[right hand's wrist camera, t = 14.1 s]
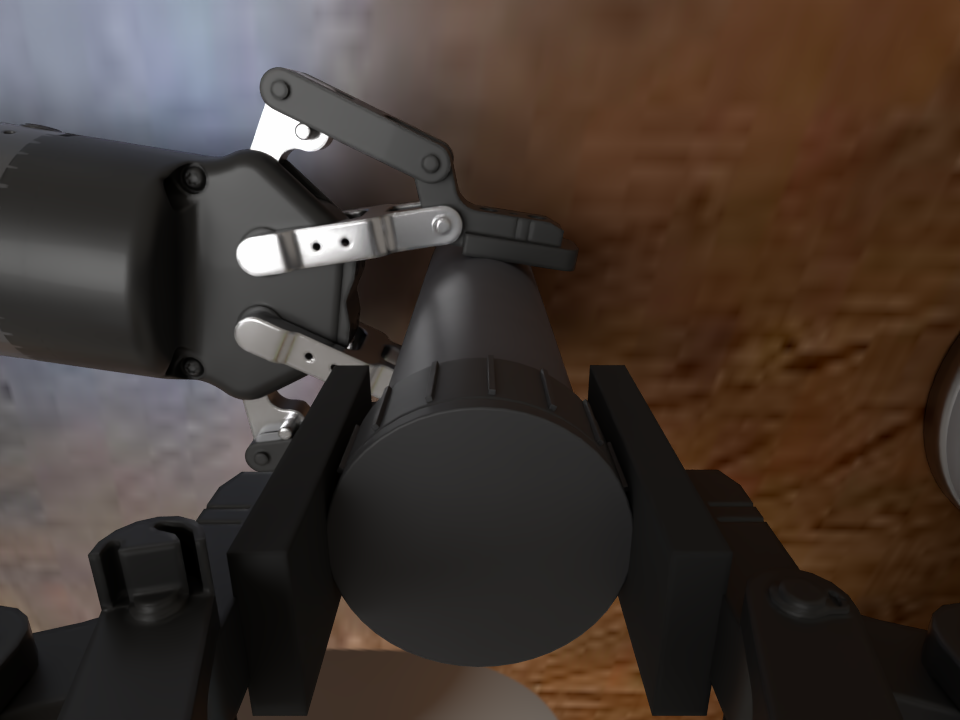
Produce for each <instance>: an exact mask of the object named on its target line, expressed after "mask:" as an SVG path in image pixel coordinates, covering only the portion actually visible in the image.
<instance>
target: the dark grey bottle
mask: <svg viewBox="0 0 960 720" xmlns="http://www.w3.org/2000/svg"><path fill="white" fill-rule="evenodd" d="M462 251H463V247H460V246H454V245H441V246H437V247H436V248H435V250H434V253H433V255H432V258H431V261H430V264H429V267H428V270H427V273H426V276H425V279H424V282H423V285H422V288H421V291H420V294H419V297H418V300H417V303H416V306H415V308H414V311H413V314H412V317H411V320H410V323H409V326H408V329H407V332H406V335H405V338H404V341H403V344H402V347H401V350H400V353H399V356H398V359H397V362H396V365H395V368H394V371H393V374H392V377H391V380H390V383H389V386H390V387H391V388H392V387H393V386H394V385H396V384H397V383H398V382H400V381H402V380H403V379H405V378H406V377H408V376H410V375H411V374H413V373H415V372H418V371H420V370H422V369H424V368H426V367H429V366H431V364H432V362H434V361H438V364H439V363H442V362H446V361H451V360H457V359H463V358H487V357H488V355H494V358H495V359H503V360H508V361H513V362H518V363H521V364H524V365H527V366H530V367H533V368H535V369H538V370H540V371H541V370H542V368H544V369H546V370H547V371H548V374H549V375H550V376H552V377H553V378H555V379H556V380H558V381H559V382H561V383H562V384H564V385H565V386H567V387H568V388H569V389H570V390H571V391H572V392H573V390H572V387H571V384H570V382H569V379H568V376H567V373H566V370H565V367H564V364H563V361H562V358H561V355H560V352H559V349H558V346H557V343H556V340H555V337H554V334H553V331H552V328H551V325H550V322H549V319H548V316H547V313H546V310H545V307H544V304H543V301H542V298H541V295H540V292H539V289H538V287H537V284H536V281H535V278H534V275H533V272H532V269H531V266H529V265H523V264H517V263H510V262H504V261H497V260H493V259H486V258H478V257H472V256H465V255H462Z"/></svg>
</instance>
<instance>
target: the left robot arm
mask: <svg viewBox="0 0 960 720" xmlns="http://www.w3.org/2000/svg"><path fill="white" fill-rule="evenodd" d="M260 93H261V96H262V99H263V100H264V102H265V103H266V104H265V107H264V110H263V113H262V116H261V119H260V122H259V125H258V128H257V131H256V134H255V137H254V140H253V143H252V146H251V149H245V150H239V151H236V152H234V153H232V154H229V155H227V156H224V157H211V156H205V155H198V154H192V153H186V152H180V151H174V150H168V149H161V148H155V147H149V146H143V145H137V144H131V143H124V142H118V141H112V140H106V139H99V138H93V137H87V136H81V135H75V134H69V133H62V132H61V131H59V130H57V129H53V128H50V127H46V126H41V125H36V124H25V125H13V124H7V123H0V355H3V356H10V357H17V358H24V359H32V360H38V361H45V362H52V363H59V364H66V365H73V366H79V367H86V368H93V369H100V370H107V371H114V372H121V373H128V374H135V375H142V376H149V377H156V378H163V379H192V380H201V381H204V382H207V383H210V384H212V385H214V386H216V387H218V388H219V389H221V390H223V391H224V392H226V393H227V394H229V395H230V396H232V397H235V398H238V399H242V400H243V403H244V406H245V410H246V413H247V417H248V421H249V424H250V428H251V431H252V435H253V441H252V443H251V444H250V446H249V447H248V449H247V450H246V453H245V459H246V462H247V464H248V465H249V466H250V467H251V468H252V469H253V470H255V471H258V472H273V471H274V470H275V468H276V466H277V465H278V463H279V461H280V459H281V458H282V456H283V454H284V452H285V451H286V449H287V447H288V445H289V444H290V442H291V440H292V439H293V437H294V435H295V433H296V432H297V430H298V428H299V426H300V425H301V423H302V421H303V419H304V418H305V416H306V414H307V413H308V411H309V409H310V406H309V405H308V404H307V403H306V402H305V401H302V400H297V399H287V398H285V397H283V396H281V395H280V394H279V393H278V392H277V390H279V389H281V388H283V387H285V386H287V385H289V384H291V383H293V382H295V381H297V380H299V379H301V378H303V377H305V376H307V375H311V376H313V377H315V378H317V379H320V380H322V381H324V382H325V381H326V380H327V378H328V376H329V374H330V373H331V371H332V369H333V367H334V366H335V365H369V369H370V385H371V395H372V396H374V397H377V398H379V399H380V398H381V397H382V394H383V392H384V389H385V388H386V387H387V386H388V385H389V383H390V380H391V377H392V374H393V371H394V368H395V365H396V362H397V359H398V356H399V353H400V350H401V347H402V346H401V345H399V344H396V343H394V342H392V341H391V340H390V339H389V338H388V336H387V335H385V334H384V333H383V332H381V331H379V330H377V329H375V328H373V327H370V326H368V325H366V324H364V323H362V322H360V321H359V318H360V304H359V298H358V292H357V284H358V282H359V279H360V276H361V274H362V271H363V269H364V266H365V259H372V258H378V257H382V256H386V255H389V254H391V253H395V252H400V251H406V250H413V249H420V248H427V247H434V246H441V245H454V246H460V247H463V251H462V255H465V256H472V257H478V258H486V259H493V260H497V261H504V262H510V263H517V264H523V265H529V266H536V267H542V268H549V269H555V270H562V271H574V270H575V265H576V260H577V256H578V251H579V249H578V247H577V246H576V245H575V243H574V242H573V241H571V240H568V239H564V238H563V233H564V231H563V229H562V228H561V226H560V225H559V224H558V223H556V222H554V221H553V220H551V219H550V218H548V217H546V216H542V215H536V214H528V213H523V212H516V211H511V210H505V209H498V208H492V207H486V206H480V205H475V204H472V203H470V202H468V201H467V200H466V199H465V198H464V197H463V196H462V195H461V193H460V191H459V188H458V184H457V179H456V174H455V169H454V165H453V161H454V156H453V152H452V150H451V148H450V147H449V145H447V144H446V143H445V142H443V141H441V140H439V139H437V138H435V137H433V136H431V135H429V134H427V133H425V132H423V131H421V130H419V129H417V128H415V127H413V126H411V125H409V124H407V123H405V122H403V121H401V120H399V119H397V118H395V117H393V116H391V115H389V114H387V113H385V112H383V111H381V110H379V109H377V108H375V107H373V106H371V105H369V104H367V103H365V102H363V101H361V100H359V99H357V98H355V97H353V96H351V95H349V94H347V93H345V92H343V91H341V90H339V89H337V88H335V87H333V86H331V85H329V84H327V83H325V82H323V81H321V80H319V79H317V78H314V77H312V76H310V75H308V74H306V73H302V72H299V71H295V70H291V69H286V68H281V67H276V68H272V69H270V70H268V71H267V72H266V73H265V74H264V75H263V77H262V79H261V82H260ZM333 139H335V140H337V141H339V142H341V143H343V144H345V145H347V146H349V147H351V148H353V149H355V150H358V151H360V152H362V153H364V154H366V155H368V156H370V157H372V158H374V159H376V160H378V161H380V162H382V163H384V164H386V165H388V166H391V167H393V168H395V169H397V170H399V171H401V172H403V173H405V174H407V175H409V176H411V177H413V178H415V183H416V187H417V192H418V196H419V201H414V202H407V203H400V204H383V205H377V206H370V207H363V208H357V209H350V210H343V211H341V210H340V209H339V208H338V207H337V206H335V205H334V204H333V203H332V202H331V201H330V200H329V199H328V198H327V197H326V196H325V195H324V194H323V193H322V192H321V191H320V190H319V189H317V188H316V187H315V186H314V185H313V184H312V183H311V182H310V181H309V180H308V179H307V178H306V177H305V176H304V175H303V174H302V173H300V172H299V171H298V170H297V169H296V168H295V167H294V166H293V165H292V164H291V163H290V162H289V161H288V160H287V157H288V155H289V154H290V153H291V152H292V151H293V150H294V149H301V150H305V151H317V150H322V149H324V148H326V147H328V146H329V145H330V144H331V142H332V141H333ZM375 403H376V402H372V406H373V405H374V404H375Z"/></svg>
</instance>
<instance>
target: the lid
mask: <svg viewBox="0 0 960 720" xmlns="http://www.w3.org/2000/svg"><path fill="white" fill-rule="evenodd" d="M337 472H338V473H340V474H341V475H340V477H339V480H338V483H337V485H336V488H335V490H334V493H333V496H332V499H331V502H330V505H329V508H328V512H327V519H326V524H327V537H328V547H329V557H330V567H331V573H332V576H333V579H334V581H335V583H336V585H337V587H338V589H339V591H340V593H341V595H342V597H343V598H344V600H345V601H346V602H347V604H348V605H349V607H350V608H351V610H352V611H353V612H354V613H355V614H356V615H357V616H358V617H359V618H360V620H361V621H362V622H363V623H365V624H366V625H367V626H368V627H369V628H370V629H372V630H373V631H374V632H375V633H376V634H378V635H379V636H381V637H382V638H384V639H385V640H387V641H388V642H390V643H391V644H393V645H395V646H397V647H399V648H401V649H403V650H405V651H407V652H409V653H412V654H415V655H417V656H420V657H422V658H425V659H429V660H433V661H437V662H440V663H446V664H452V665H458V666H472V667H486V666H501V665H508V664H514V663H519V662H523V661H527V660H531V659H534V658H537V657H540V656H542V655H545V654H548V653H550V652H552V651H554V650H556V649H558V648H560V647H562V646H564V645H566V644H568V643H570V642H571V641H573V640H574V639H576V638H577V637H579V636H580V635H582V634H583V633H584V632H585V631H587V630H588V629H589V628H590V627H591V626H593V625H594V624H595V623H596V622H597V621H598V620H599V619H600V618H601V617H602V616H603V614H604V613H605V612H606V611H607V610H608V609H609V607H610V606H611V604H612V603H613V602H614V600H615V599H616V597H617V596H618V594H619V592H620V590H621V588H622V586H623V584H624V582H625V580H626V577H627V574H628V570H629V561H630V550H631V540H632V529H633V515H632V511H631V508H630V504H629V501H628V497H627V495H626V492H628V484H627V482H626V479H625V477H624V474H623V472H622V469H621V467H620V464H619V462H618V459H617V457H616V454H615V452H614V449H613V447H612V444H611V442H608V443H606V440H605V438H604V435H603V433H602V431H601V429H600V427H599V424H598V422H597V421H596V419H595V417H594V415H593V412H592V409H591V407H590V404H589V402H588V401H587V400H586V399H585V400H584V401H582V400H581V399H580V398H579V397H578V396H577V395H576V394H575V393H573V392H572V391H571V390H570V389H569V388H568V387H567V386H565V385H564V384H562V383H561V382H559V381H558V380H556V379H555V378H553V377H552V376H550V375H549V374H548V371H547V370H546V369H544V368H542V370H541V371H540V370H538V369H535V368H533V367H530V366H527V365H524V364H521V363H518V362H513V361H508V360H503V359H495V358H494V355H488V357H487V358H463V359H457V360H451V361H446V362H442V363H439V364H438V361H434V362H432V364H431V366H429V367H426V368H424V369H422V370H420V371H418V372H415V373H413V374H411V375H410V376H408V377H406V378H405V379H403V380H402V381H400V382H398V383H397V384H396V385H394V386H393V387H392V388H391V387H390V386H389V385H388V386H387V387H386V388H385V389H384V392H383V394H382V397H381V398H380V399H379V400H378V401H377V402H376V403H375V404H374V405H373V406H372V408H371V409H370V411H369V412H368V414H367V415H366V417H365V418H364V419H363V421H362V423H361V425H360V426H359V425H357V424H356V425H355V427H354V430H353V432H352V435H351V437H350V440H349V442H348V445H347V447H346V449H345V452H344V454H343V457H342V459H341V462H340V464H339V467H338V469H337Z"/></svg>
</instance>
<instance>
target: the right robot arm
mask: <svg viewBox="0 0 960 720" xmlns="http://www.w3.org/2000/svg"><path fill="white" fill-rule="evenodd" d="M588 402H589V404H590V407H591V409H592V412H593V415H594V417H595V419H596V421H597V422H598V424H599V427H600V429H601V431H602V433H603V435H604V438H605V440H606V443H608V442H611V444H612V447H613V449H614V452H615V454H616V457H617V459H618V462H619V464H620V467H621V469H622V472H623V474H624V477H625V479H626V482H627V484H628V492H626V495H627V497H628V501H629V504H630V508H631V511H632V515H633V529H632V540H631V550H630V561H629V570H628V574H627V577H626V580H625V582H624V584H623V586H622V588H621V590H620V592H619V594H618V597H619V601H620V604H621V608H622V611H623V615H624V618H625V622H626V625H627V629H628V632H629V636H630V639H631V643H632V646H633V650H634V653H635V657H636V660H637V664H638V667H639V671H640V674H641V678H642V681H643V685H644V688H645V692H646V695H647V699H648V702H649V706H650V709H651V713H652V716H707V710H708V704H709V698H710V691H711V685H712V686H713V689H714V691H715V694H716V696H717V699H718V701H719V704H720V706H721V708H722V711H723V713H724V715H723V720H960V603H955V604H949V605H943V606H941V607H940V608H939V609H938V610H937V611H935V612H934V613H933V614H932V618H931V621H930V624H929V628H928V631H927V630H923V629H918V628H913V627H909V626H904V625H900V624H895V623H891V622H886V621H881V620H877V619H874V618H870V617H867V616H863V615H860V612H859V610H858V608H857V607H856V606H855V604H854V603H853V601H852V600H851V598H850V597H849V595H847V594H846V593H845V592H843V591H842V590H841V589H840V588H838V587H837V586H836V585H834V584H833V583H832V582H830V581H827V580H825V579H823V578H821V577H819V576H817V575H815V574H813V573H809V572H805V571H801V570H800V569H799V568H798V567H797V565H796V564H795V562H794V561H793V559H792V558H791V557H790V555H789V554H788V552H787V551H786V549H785V548H784V547H783V545H782V544H781V542H780V541H779V540H778V538H777V537H776V535H775V534H774V532H773V531H772V530H771V528H770V527H769V525H768V524H767V522H764V521H763V517H762V515H761V514H760V512H759V511H758V510H757V508H756V507H753V503H752V501H751V500H750V498H749V497H748V495H747V494H746V493H745V491H744V490H743V488H742V487H741V485H739V484H738V483H736V482H735V481H733V480H732V479H731V478H729V477H728V476H726V475H725V474H723V473H722V472H720V471H719V470H685V469H684V467H683V466H682V464H681V462H680V461H679V459H678V457H677V455H676V454H675V452H674V450H673V448H672V447H671V445H670V443H669V441H668V440H667V438H666V436H665V434H664V433H663V431H662V429H661V428H660V426H659V424H658V422H657V421H656V419H655V417H654V415H653V414H652V412H651V410H650V408H649V407H648V405H647V403H646V402H645V400H644V398H643V396H642V395H641V393H640V391H639V389H638V388H637V386H636V384H635V382H634V381H633V379H632V377H631V376H630V374H629V372H628V370H627V369H626V367H625V365H590V374H589V390H588ZM371 408H372V400H371V385H370V369H369V365H335V366H334V367H333V369H332V371H331V373H330V374H329V376H328V378H327V380H326V381H325V383H324V385H323V387H322V388H321V390H320V392H319V393H318V395H317V397H316V399H315V400H314V402H313V404H312V406H311V407H310V409H309V411H308V413H307V414H306V416H305V418H304V419H303V421H302V423H301V425H300V426H299V428H298V430H297V432H296V433H295V435H294V437H293V439H292V440H291V442H290V444H289V445H288V447H287V449H286V451H285V452H284V454H283V456H282V458H281V459H280V461H279V463H278V465H277V466H276V468H275V470H274V471H273V472H241V473H239V474H238V475H236V476H235V477H234V478H232V479H231V480H229V481H228V482H226V483H225V484H223V485H222V486H221V487H219V488H218V490H217V491H216V493H215V494H214V496H213V497H212V499H211V500H210V501H209V503H208V504H207V509H204V510H203V511H202V513H201V514H200V516H199V517H198V519H197V520H196V521H195V520H192V519H188V518H184V517H180V516H168V517H155V518H151V519H146V520H142V521H137V522H135V523H132V524H130V525H128V526H125V527H123V528H120V529H118V530H116V531H114V532H113V533H111V534H110V535H108V536H107V537H105V538H104V539H102V540H101V541H99V542H98V543H97V545H96V546H95V547H94V548H93V549H92V551H91V552H90V553H89V554H88V558H89V562H90V566H91V569H92V573H93V577H94V581H95V585H96V589H97V593H98V597H99V601H100V605H101V609H102V611H101V614H100V616H99V618H96V619H92V620H89V621H85V622H82V623H77V624H73V625H68V626H64V627H59V628H55V629H50V630H45V631H41V632H36V633H32V630H31V627H30V624H29V621H28V617H27V616H26V615H25V614H24V613H22V612H21V611H20V610H19V609H18V608H12V607H5V606H0V720H237V713H238V710H239V708H240V705H241V703H242V700H243V698H244V695H245V693H246V690H247V688H248V689H249V695H250V702H251V708H252V714H253V716H307V714H308V710H309V707H310V703H311V700H312V696H313V692H314V689H315V686H316V682H317V679H318V675H319V672H320V668H321V665H322V661H323V658H324V654H325V651H326V648H327V644H328V641H329V637H330V634H331V630H332V627H333V623H334V620H335V616H336V613H337V609H338V606H339V602H340V599H341V593H340V591H339V589H338V587H337V585H336V583H335V581H334V579H333V576H332V573H331V567H330V557H329V547H328V537H327V524H326V519H327V512H328V508H329V505H330V502H331V499H332V496H333V493H334V490H335V488H336V485H337V483H338V480H339V477H340V475H341V474H340V473H338V472H337V469H338V467H339V464H340V462H341V459H342V457H343V454H344V452H345V449H346V447H347V445H348V442H349V440H350V437H351V435H352V432H353V430H354V427H355V425H356V424H357V425H359V426H360V425H361V423H362V421H363V419H364V418H365V417H366V415H367V414H368V412H369V411H370V409H371ZM924 444H925V451H926V456H927V460H928V463H929V466H930V470H931V472H932V474H933V476H934V478H935V480H936V482H937V484H938V486H939V487H940V489H941V490H942V492H943V493H944V494H945V495H946V496H947V498H948V499H949V500H950V501H951V502H952V503H953V504H954V505H955V506H956V507H957V508H959V509H960V335H959V337H958V338H957V340H956V341H955V342H954V344H953V345H952V347H951V349H950V350H949V352H948V354H947V355H946V357H945V359H944V360H943V362H942V364H941V367H940V369H939V371H938V373H937V375H936V377H935V380H934V383H933V385H932V388H931V391H930V395H929V398H928V402H927V407H926V413H925V419H924Z"/></svg>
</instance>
